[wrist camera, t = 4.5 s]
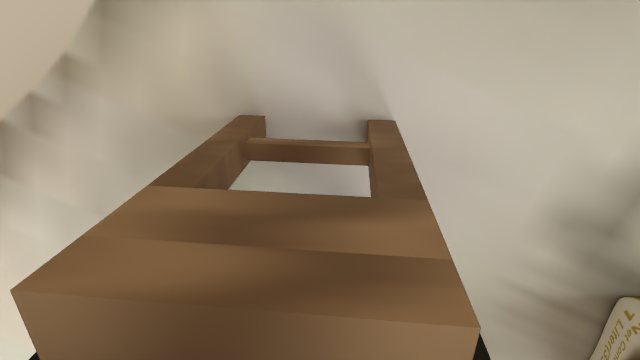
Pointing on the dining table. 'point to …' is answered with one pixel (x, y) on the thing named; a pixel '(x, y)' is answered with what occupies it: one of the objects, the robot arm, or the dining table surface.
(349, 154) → the stool
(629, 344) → the juice carton
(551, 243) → the dining table surface
